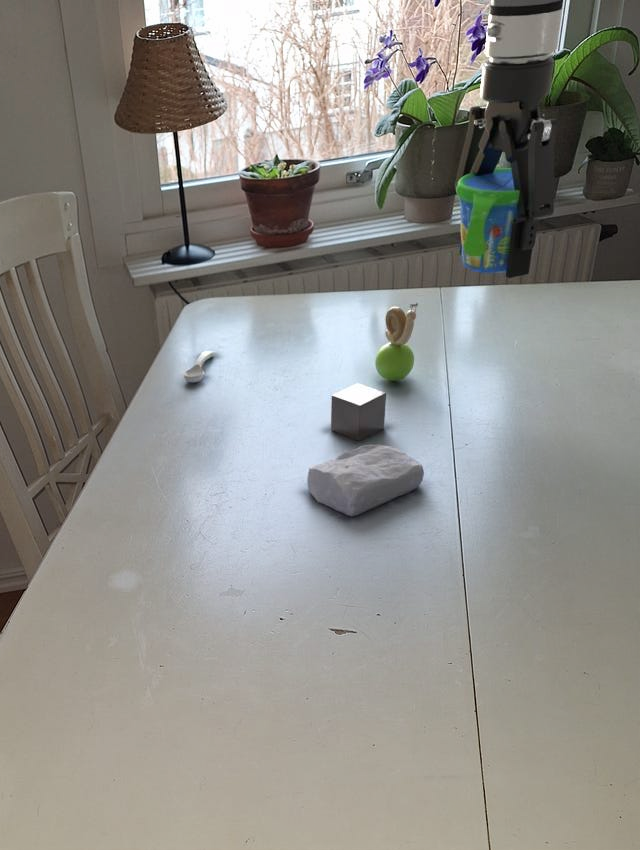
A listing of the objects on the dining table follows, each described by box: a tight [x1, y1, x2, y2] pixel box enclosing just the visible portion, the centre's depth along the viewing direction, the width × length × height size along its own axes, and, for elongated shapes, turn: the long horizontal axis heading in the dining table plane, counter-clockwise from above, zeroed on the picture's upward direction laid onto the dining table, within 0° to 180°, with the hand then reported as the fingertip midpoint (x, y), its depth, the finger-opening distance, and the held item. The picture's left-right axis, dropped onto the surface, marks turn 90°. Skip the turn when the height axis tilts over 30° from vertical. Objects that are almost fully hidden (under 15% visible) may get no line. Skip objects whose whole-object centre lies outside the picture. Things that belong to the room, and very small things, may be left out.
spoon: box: [183, 350, 215, 383], centre depth 143 cm, size 3×12×2 cm, turn 164°
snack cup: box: [455, 167, 529, 274], centre depth 113 cm, size 16×10×10 cm
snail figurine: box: [374, 302, 419, 382], centre depth 130 cm, size 5×6×12 cm
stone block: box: [306, 444, 425, 517], centre depth 110 cm, size 12×5×10 cm
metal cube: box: [330, 382, 387, 442], centre depth 121 cm, size 5×5×5 cm
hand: (492, 263), depth 116 cm, fingers closed on snack cup, 10 cm apart
